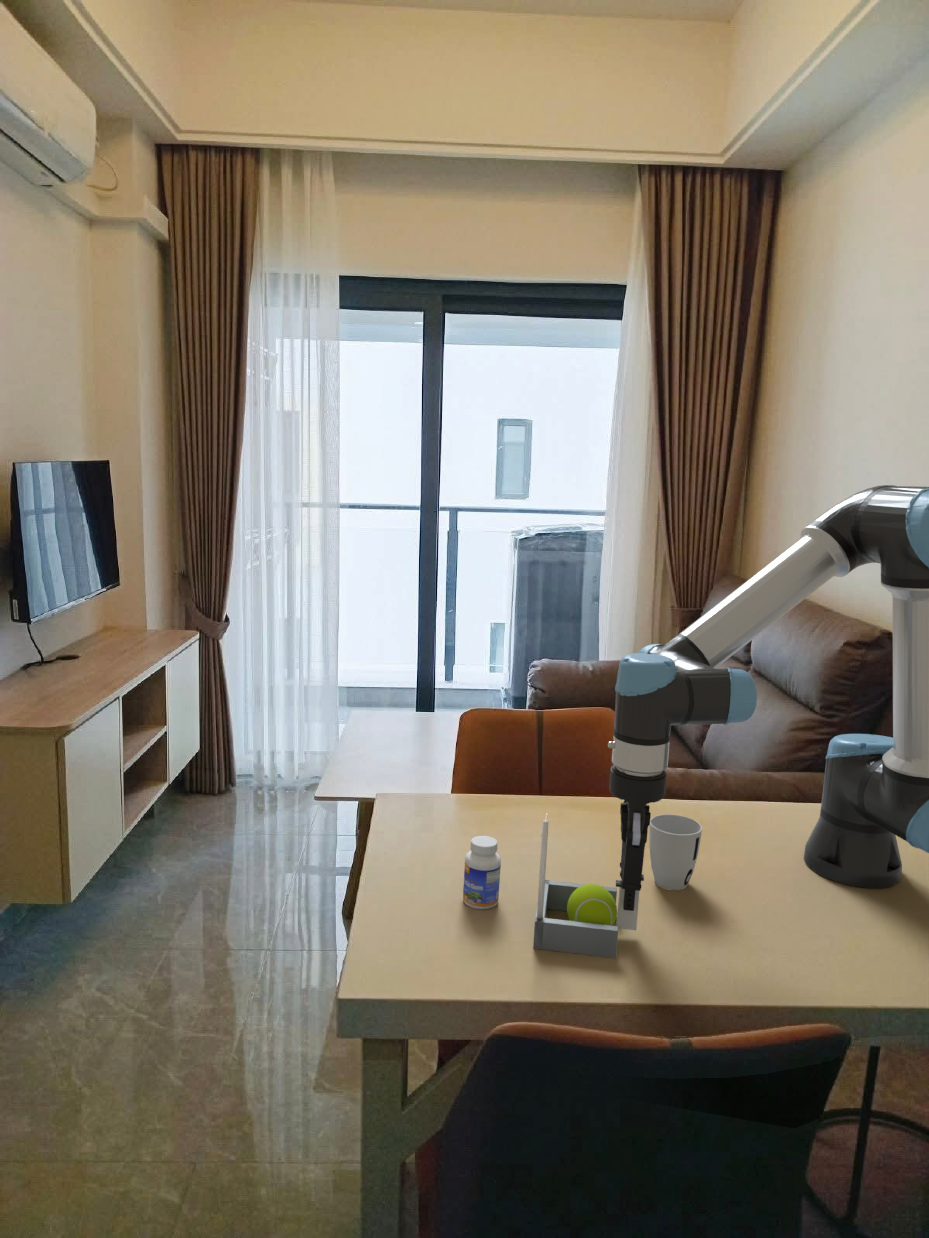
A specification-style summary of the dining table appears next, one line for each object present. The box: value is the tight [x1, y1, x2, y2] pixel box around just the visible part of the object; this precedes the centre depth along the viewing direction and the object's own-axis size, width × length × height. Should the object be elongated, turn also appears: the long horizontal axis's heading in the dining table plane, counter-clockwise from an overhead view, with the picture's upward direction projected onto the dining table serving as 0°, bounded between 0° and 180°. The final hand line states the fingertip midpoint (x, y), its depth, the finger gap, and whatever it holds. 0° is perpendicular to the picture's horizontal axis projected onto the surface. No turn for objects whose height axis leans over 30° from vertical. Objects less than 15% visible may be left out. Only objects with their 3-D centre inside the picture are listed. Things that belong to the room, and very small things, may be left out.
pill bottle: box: [462, 835, 502, 910], centre depth 130 cm, size 5×5×10 cm
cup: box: [648, 813, 703, 891], centre depth 139 cm, size 8×8×10 cm
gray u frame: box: [532, 812, 619, 959], centre depth 123 cm, size 11×12×18 cm
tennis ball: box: [566, 883, 618, 926], centre depth 123 cm, size 7×7×7 cm
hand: (626, 926), depth 123 cm, fingers closed
